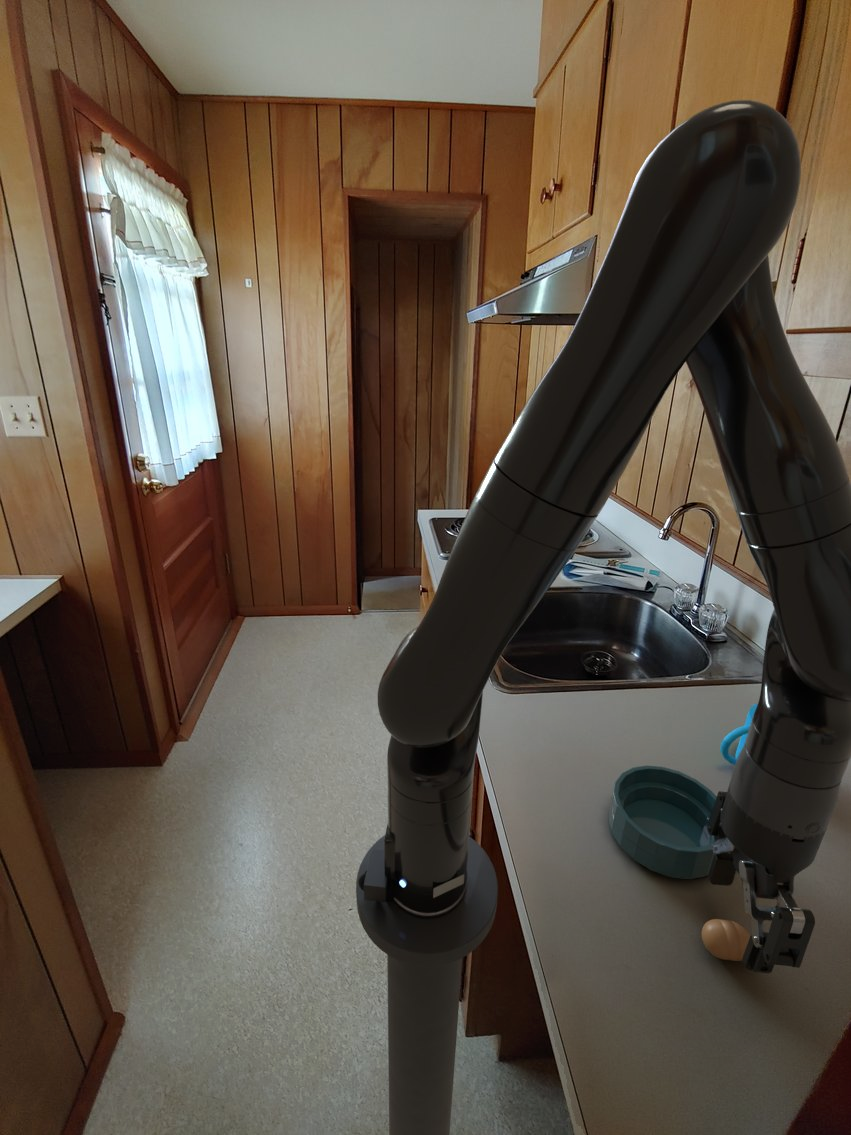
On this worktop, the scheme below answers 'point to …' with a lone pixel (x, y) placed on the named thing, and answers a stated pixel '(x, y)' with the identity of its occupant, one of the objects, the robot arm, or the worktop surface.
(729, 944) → the bread
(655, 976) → the worktop surface
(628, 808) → the bowl
